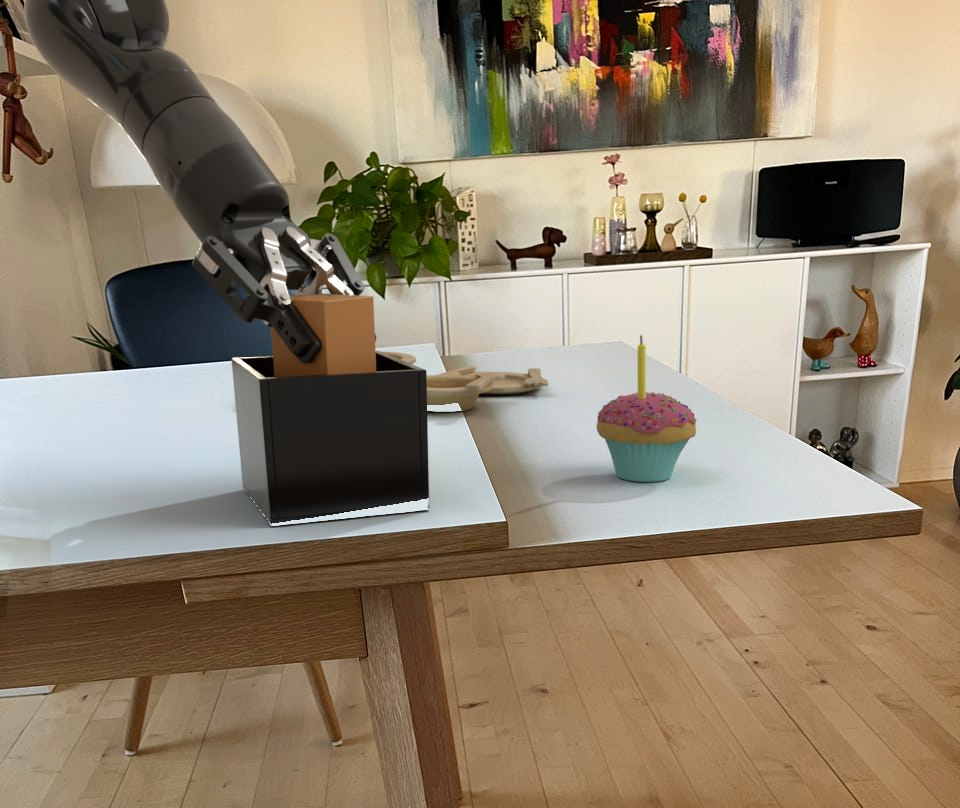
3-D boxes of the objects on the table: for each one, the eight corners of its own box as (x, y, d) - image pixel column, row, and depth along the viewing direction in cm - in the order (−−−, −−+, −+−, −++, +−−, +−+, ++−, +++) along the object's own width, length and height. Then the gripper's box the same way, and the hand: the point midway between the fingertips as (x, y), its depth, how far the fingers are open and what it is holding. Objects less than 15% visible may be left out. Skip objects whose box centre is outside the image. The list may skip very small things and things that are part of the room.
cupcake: (672, 492, 85) (682, 340, 81) (577, 480, 89) (582, 335, 85) (704, 471, 92) (716, 330, 88) (615, 460, 96) (621, 325, 91)
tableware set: (221, 407, 123) (218, 371, 121) (326, 372, 149) (325, 343, 147) (509, 423, 113) (509, 385, 112) (567, 383, 139) (568, 352, 138)
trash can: (271, 527, 76) (259, 379, 72) (242, 489, 87) (231, 358, 82) (429, 511, 80) (426, 369, 76) (384, 476, 91) (379, 350, 87)
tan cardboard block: (330, 414, 77) (323, 301, 74) (276, 407, 80) (268, 297, 77) (378, 404, 81) (373, 296, 78) (325, 397, 84) (319, 293, 81)
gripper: (159, 134, 72) (299, 325, 70) (304, 144, 83) (428, 309, 81) (120, 217, 77) (249, 397, 75) (262, 216, 88) (377, 373, 86)
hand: (341, 350), depth 78 cm, fingers closed on tan cardboard block, 5 cm apart
